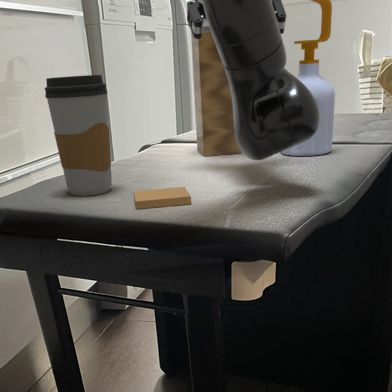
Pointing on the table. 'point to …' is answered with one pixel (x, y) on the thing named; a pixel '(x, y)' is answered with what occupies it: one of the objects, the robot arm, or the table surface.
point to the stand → (212, 100)
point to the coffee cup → (81, 132)
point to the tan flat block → (161, 197)
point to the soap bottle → (317, 91)
